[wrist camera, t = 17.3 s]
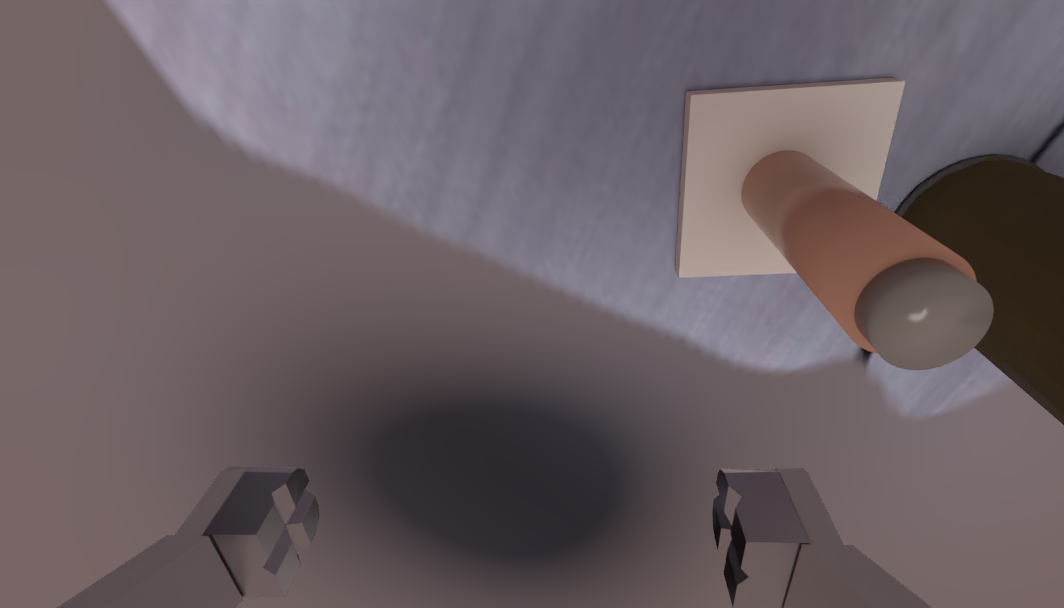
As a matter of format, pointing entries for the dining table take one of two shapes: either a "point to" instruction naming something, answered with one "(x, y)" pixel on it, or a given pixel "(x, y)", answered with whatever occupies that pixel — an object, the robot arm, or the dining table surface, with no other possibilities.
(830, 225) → the shaker
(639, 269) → the dining table surface
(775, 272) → the board
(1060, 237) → the canister
